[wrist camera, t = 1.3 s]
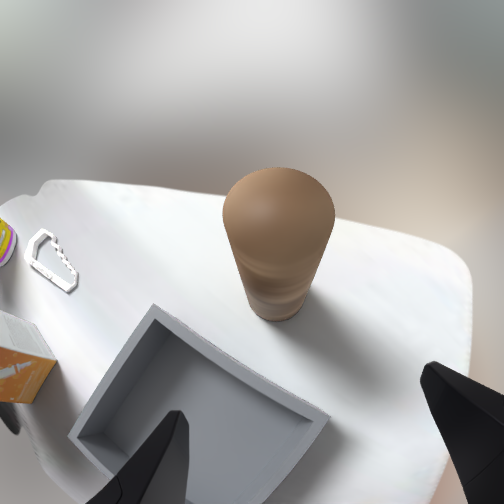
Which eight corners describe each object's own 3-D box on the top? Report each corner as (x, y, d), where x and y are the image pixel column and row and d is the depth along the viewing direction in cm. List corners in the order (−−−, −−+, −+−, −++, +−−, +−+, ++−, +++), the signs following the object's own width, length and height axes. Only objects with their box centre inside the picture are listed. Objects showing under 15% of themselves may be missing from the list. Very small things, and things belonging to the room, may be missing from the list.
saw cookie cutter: (96, 259, 28) (88, 253, 26) (77, 297, 26) (68, 293, 24) (40, 228, 30) (34, 222, 28) (24, 258, 28) (17, 253, 26)
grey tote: (318, 407, 19) (330, 416, 15) (223, 522, 15) (212, 548, 10) (175, 317, 23) (153, 303, 19) (98, 430, 19) (67, 436, 14)
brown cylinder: (314, 284, 24) (351, 195, 12) (285, 332, 22) (301, 283, 10) (266, 257, 25) (260, 154, 13) (236, 302, 24) (200, 226, 12)
